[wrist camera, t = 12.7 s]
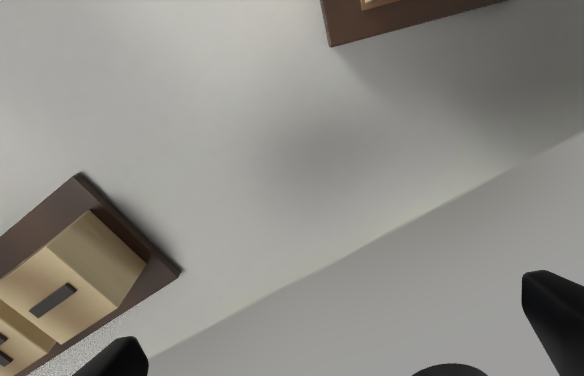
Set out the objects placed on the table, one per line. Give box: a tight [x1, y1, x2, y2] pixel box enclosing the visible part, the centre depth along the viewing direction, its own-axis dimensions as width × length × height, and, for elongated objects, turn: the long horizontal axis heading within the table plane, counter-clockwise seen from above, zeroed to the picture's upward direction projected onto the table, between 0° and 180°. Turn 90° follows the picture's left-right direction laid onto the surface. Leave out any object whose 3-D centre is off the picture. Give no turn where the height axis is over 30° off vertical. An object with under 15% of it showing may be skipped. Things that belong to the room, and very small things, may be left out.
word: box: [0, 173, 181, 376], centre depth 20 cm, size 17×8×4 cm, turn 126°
